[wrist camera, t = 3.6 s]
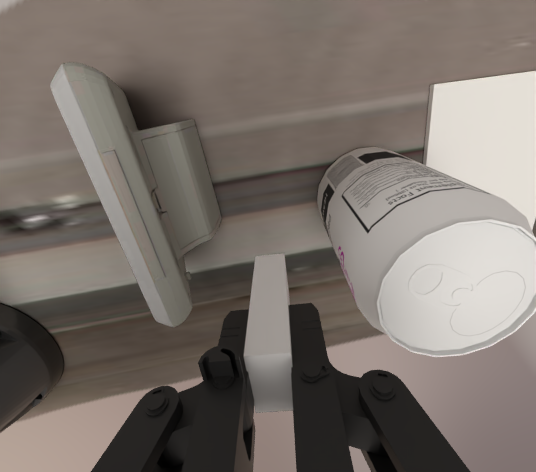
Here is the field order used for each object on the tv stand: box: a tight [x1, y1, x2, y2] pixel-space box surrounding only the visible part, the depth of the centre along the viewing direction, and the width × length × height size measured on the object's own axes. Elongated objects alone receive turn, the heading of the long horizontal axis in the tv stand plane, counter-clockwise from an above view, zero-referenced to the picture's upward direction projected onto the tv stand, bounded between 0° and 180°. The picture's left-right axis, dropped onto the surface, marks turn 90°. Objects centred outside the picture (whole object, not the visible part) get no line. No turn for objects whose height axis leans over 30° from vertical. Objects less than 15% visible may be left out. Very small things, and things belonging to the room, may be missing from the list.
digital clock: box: [51, 62, 222, 327], centre depth 21 cm, size 16×9×11 cm, turn 0°
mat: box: [423, 71, 536, 230], centre depth 25 cm, size 10×16×1 cm, turn 7°
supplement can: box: [317, 147, 536, 357], centre depth 19 cm, size 8×8×15 cm
